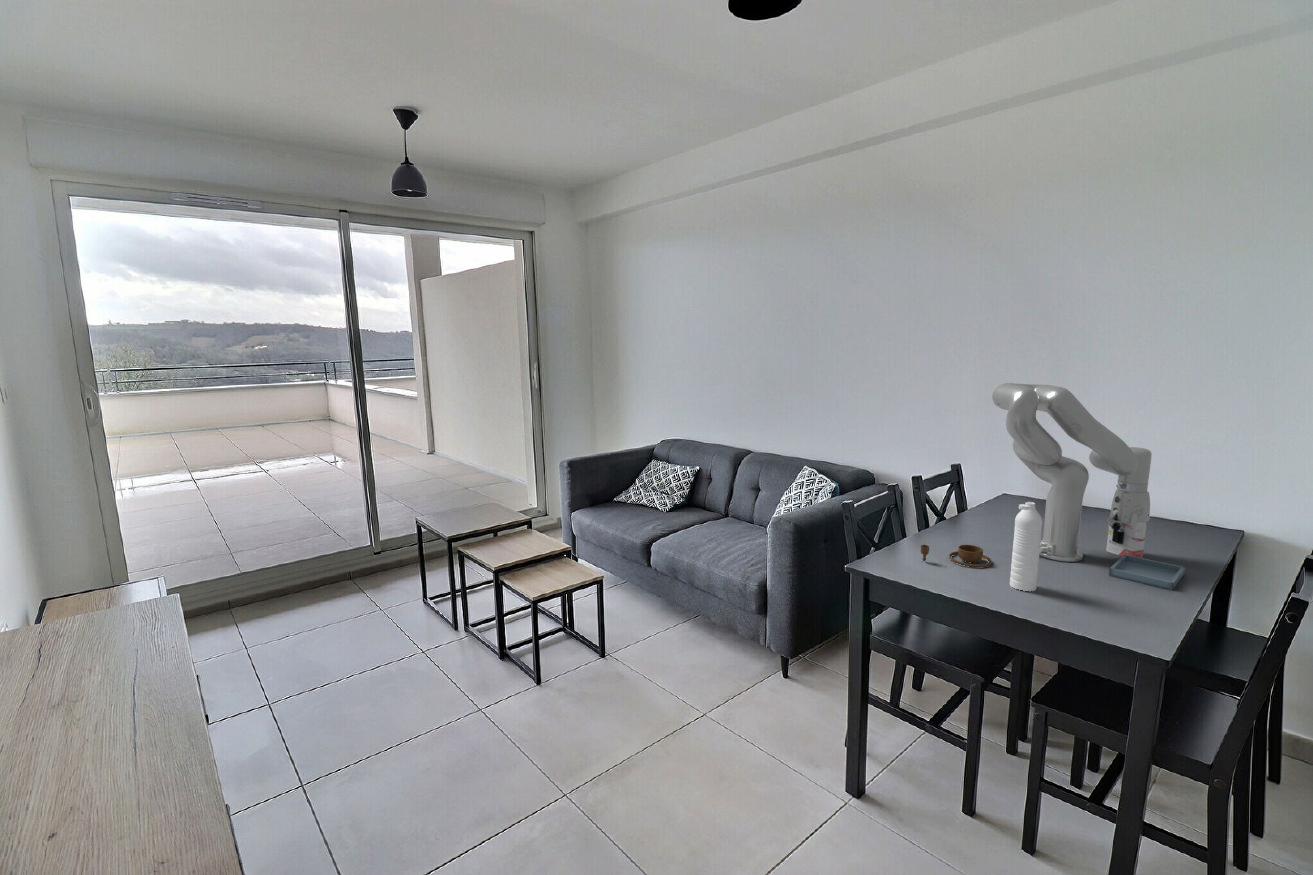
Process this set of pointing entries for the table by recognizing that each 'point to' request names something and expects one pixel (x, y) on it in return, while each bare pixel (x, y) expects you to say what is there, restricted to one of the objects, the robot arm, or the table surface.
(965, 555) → the place setting
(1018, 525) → the water bottle
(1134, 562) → the tray
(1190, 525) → the table surface
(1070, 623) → the table surface
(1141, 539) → the ink cartridge box
